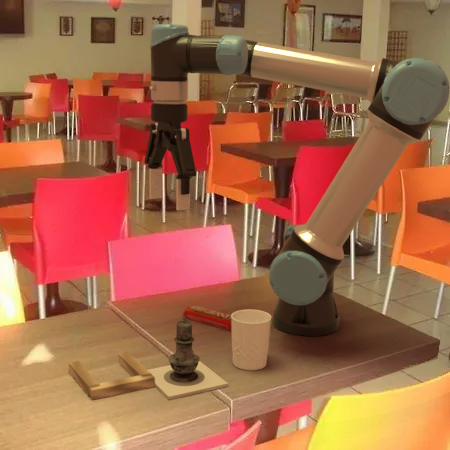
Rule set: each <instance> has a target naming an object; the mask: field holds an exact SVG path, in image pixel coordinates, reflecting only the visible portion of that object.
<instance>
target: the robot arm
mask: <svg viewBox="0 0 450 450" xmlns="http://www.w3.org/2000/svg"><path fill="white" fill-rule="evenodd" d="M150 35H151V37H150V46H149V50H150V86H149V88H148V89H149V91H150V99H151V101H153V103H151V105H150V120H151V121H152V123H150V128H149V129H150V130H149V137H148V141H147V142H148V143H147V148H146V152H145V156H144V164H145V165H147V168H148V169H149V173H148V175H149V176H148V177H149V178H148V179H149V183H148V184H149V195H148V197H149V199H150V200H154V199H162V198H163V168H164V167H163V164H162V162H163V160H164V158H165V156H166V153H167V150H168V151H169V152H170V154H171V158H172V159H173V162H174V167H175V169H176V172H177V173H176V174H177V175H176V176H175V179H176V184H175V185H176V187H175V188H176V194H175V195H176V196H175V197H176V203H175V204H176V211H187V210H189V211H190V210H191V207H190V206H191V179H192V178H193V177H196V176H197V168H196V165H195V160H194V155H193V151H192V144H191V140H190V139H191V138H190V129H189V128H187V127H185V128H182V123H185V122H187V120H188V108H189V107H188V105H187V103H186V102H187V101H188V100H189V99H188V96H189V78H188V76H189V74H209V75H225V76H232V75H238V76H243V77H250V78H254V79H255V78H256V79H262V80H267V81H273V82H278V83H283V84H287V85H288V84H289V85H292V86H298V87H304V88H308V89H309V88H310V89H315V90H320V91H326V92H332V93H336V94H340V95H341V94H342V95H348V96H353V97H358V98H362V99H363V98H364V99H367V100H368V102H369V104H370V105H368V108H367V110H366V112H367V118H368V123H367V124H366V126H365V128H364V129H363V131H362V132H361V134H360V135H359V137H358V139H357V141H356V142H355V144H354V146H352V149H351V150H350V152H349V154H348V155H347V157H346V158H345V160H344V162H343V163H342V165H341V167H340V168H339V169H338V172H337V173H336V174H335V176H334V177H333V180H332V181H331V182H330V184H329V186H328V187H327V189H326V191H325V193H324V194H323V196H322V197H321V199H320V200H319V202H318V204H317V205H316V207H315V208H314V210H313V212H312V213H311V215H310V217H309V218H308V220H307V222H306V223H303V224H290V225H288V226H286V227H285V229H284V232H283V246H282V248H281V249H280V251H279V253H278V254H277V256H275V258H274V259H273V260H272V262H271V263H270V267H269V272H268V273H269V274H268V279H269V280H268V281H269V284H270V287H271V288H272V290H273V292H274V293H275V294H276V296H277V297H278V299H277V301H276V305H275V308H274V310H273V313H272V325H273V326H274V327H276V328H277V329H278V330H280V331H283V332H284V333H288V334H293V335H297V336H306V337H308V336H311V337H313V336H314V337H315V336H317V337H318V336H325V335H329V334H332V333H334V332H336V331H337V330H339V326H340V315H339V311H338V307H337V304H336V300H335V296H334V286H335V285H334V283H335V282H334V281H335V272H336V270H337V269H338V268H339V266H340V264H342V263H341V262H342V261H343V259H344V258H345V253H344V247H343V246H344V244H345V243H346V241H347V239H348V238H349V236H350V235H351V233H352V232H353V231H354V229H355V227H356V226H357V224H358V222H359V221H360V219H361V217H362V216H363V214H364V213H365V212H366V210H367V209H368V207H369V206H370V204H371V202H372V201H373V199H374V198H375V196H376V195H377V193H378V191H379V190H380V189H381V187H382V186H383V183H385V180H386V179H387V177H388V176H389V174H390V173H391V171H392V170H393V169H394V167H395V165H396V163H397V162H398V161H399V159H400V157H401V156H402V154H403V153H404V151H405V150H406V148H407V146H409V144H414V143H418V142H420V141H421V139H422V138H423V137H424V135H425V134H426V132H427V130H428V129H429V127H430V126H431V125H432V123H433V122H434V120H435V118H436V117H438V115H440V114H441V113H442V112H443V110H444V108H446V106H447V103H448V100H449V96H450V83H449V79H448V76H447V74H446V73H445V71H444V69H443V68H442V67H441V66H440V65H438V63H435V62H434V61H432V60H429V59H427V58H424V57H411V58H410V57H409V58H407V59H391V58H385V57H381V58H378V59H377V60H375V61H373V60H366V59H362V58H357V57H349V56H343V55H337V54H331V53H326V52H319V51H313V50H308V49H302V48H297V47H290V46H284V45H280V44H278V45H277V44H272V43H266V42H262V41H254V40H250V39H249V40H248V39H246V38H245V37H244V36H240V35H233V34H231V35H230V34H224V35H222V34H220V35H217V34H215V35H210V34H209V35H208V34H207V35H197V34H196V35H195V34H190V33H189V27H188V26H187V25H185V24H175V23H174V24H168V23H163V24H161V23H159V24H155V25H154V26H152V29H151V34H150ZM153 122H154V123H153Z"/></svg>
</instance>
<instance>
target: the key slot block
mask: <svg viewBox="0 0 450 450" xmlns="http://www.w3.org/2000/svg"><path fill="white" fill-rule="evenodd" d="M117 359H118V360H117V361H118V363H119V364H120V366H122V368H124V370H125V371H127V372H128V374H129V375H130V377H125V378H121V379H115V380H111V381H105V382H101V383H99V382H98V381H97V380H96V379H95V377H94V376H93V375H92V374H91V373H90V372H89V370H87V369H86V367H85V366H84V364H82V363H81V362H80V361H79V360H77V361H73V362H72V361H70V362H68V372H69V373H70V375H71V376H72V377H73V379H75V381H76V382H77V383H78V385H79V386H80V387H81V388H82V389H83V391H84V393H86V395H87V396H88V397H89V399H91V400H92V401H94V400H97V399H98V400H99V399H103V398H107V397H111V396H117V395H122V394H126V393H131V392H135V391H140V390H144V389H150V388H155V377H154V376H153V375H152V374H151V373H150V372H149V371H148V370H149V369H147V368H146V367H145V366H144V365H142V364H141V363H140V362H139V360H137V359H136V358H135V357H134V356H133V355H132V354H130V353H129V351H126V352H125V351H124V352H120V353H118V355H117Z"/></svg>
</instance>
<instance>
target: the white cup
mask: <svg viewBox="0 0 450 450" xmlns="http://www.w3.org/2000/svg"><path fill="white" fill-rule="evenodd" d="M230 315H231V331H230V332H231V350H232V364H233V365H234V367H235V368H238V369H241V370H244V371H245V370H246V371H257V370H262V369H263V368H265V367H267V363H268V362H267V361H268V353H269V348H270V339H271V338H270V337H271V329H272V319H273V316H272V315H271V314H270V313H269V312H266V311H264V310H261V309H251V308H250V309H249V308H248V309H240V310H237V311H236V310H235V311H234V312H232V313H231V314H230Z"/></svg>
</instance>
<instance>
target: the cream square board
mask: <svg viewBox="0 0 450 450" xmlns="http://www.w3.org/2000/svg"><path fill="white" fill-rule="evenodd" d="M147 370H148V371H149V372H150V373H151V374H152V375H153V376H154V377H155V386H154V388H156V389H157V390H158V391H159V392H160V393H161V394H162V395H163V396H164V397H165V398H166V399H167V400H168V401H169V400H176V399H179V398H183V397H186V396H187V397H188V396H192V395H197V394H200V393H206V392H209V391H213V390H219V389H224V388H227V387H229V383H228V382H227V381H226V380H224V378H222V377H221V376H219V375H218V374H217V373H216V372H214V371H213V370H212V369H210V368H209V367H208V366H206V365H205V364H204V363H203V362H201V361H199V362H198V365H197V368H196V369H195V370H194V372H196V373H197V374H198V378H197V379H196V380H194V381H192V382H185V383H183V382H176V381H173V380H172V379H171V378H170V374H171V373H172V372H174V370H173V369H172V368H171V365H170V364H169V365H164V366H159V367H155V368H150V369H147Z"/></svg>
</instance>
